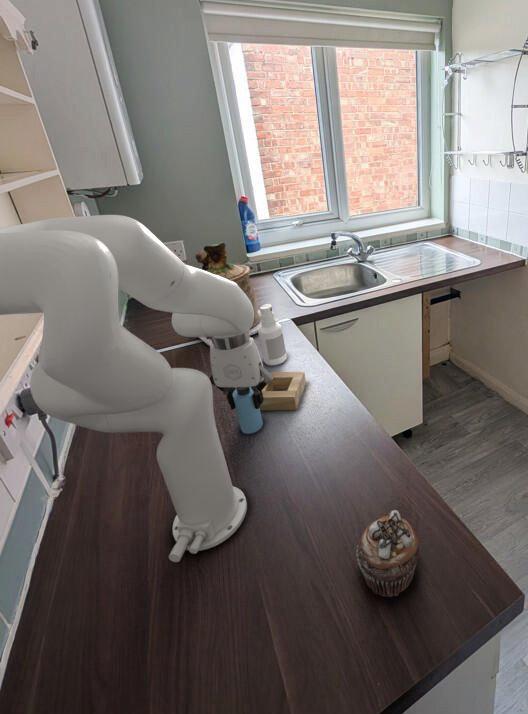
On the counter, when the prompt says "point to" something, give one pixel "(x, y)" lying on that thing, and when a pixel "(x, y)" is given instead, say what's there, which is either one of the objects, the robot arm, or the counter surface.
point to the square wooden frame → (283, 399)
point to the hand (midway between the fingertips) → (247, 404)
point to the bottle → (247, 410)
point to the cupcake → (388, 554)
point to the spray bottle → (271, 337)
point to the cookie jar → (229, 278)
